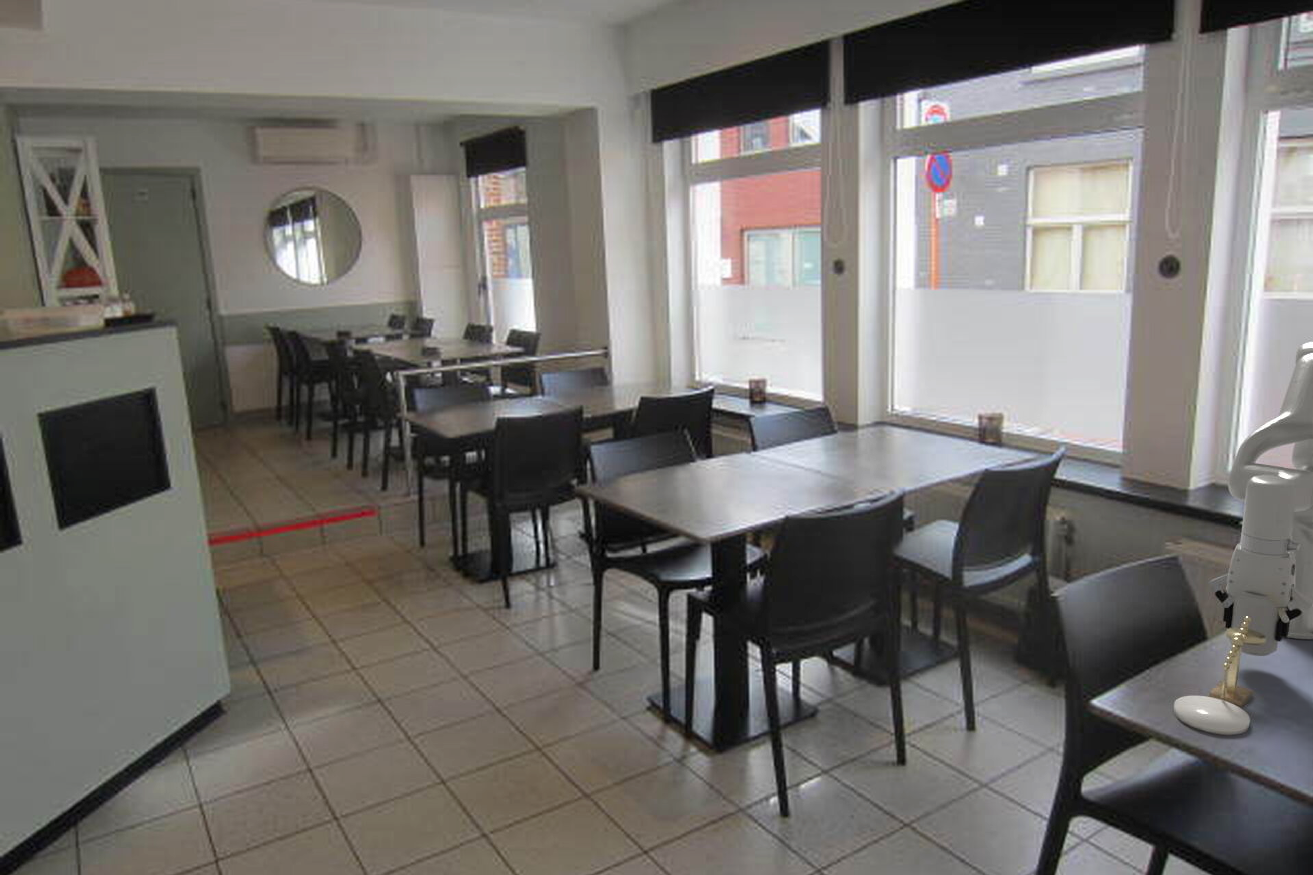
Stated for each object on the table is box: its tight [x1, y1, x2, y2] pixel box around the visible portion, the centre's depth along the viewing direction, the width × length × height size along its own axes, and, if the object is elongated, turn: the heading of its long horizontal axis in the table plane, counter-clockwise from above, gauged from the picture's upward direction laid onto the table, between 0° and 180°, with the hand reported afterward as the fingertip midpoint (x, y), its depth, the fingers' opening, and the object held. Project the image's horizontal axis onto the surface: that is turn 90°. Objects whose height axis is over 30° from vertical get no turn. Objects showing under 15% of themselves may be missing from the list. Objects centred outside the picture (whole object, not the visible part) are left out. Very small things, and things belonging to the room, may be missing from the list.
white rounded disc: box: [1173, 695, 1251, 736], centre depth 156 cm, size 11×11×1 cm
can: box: [1229, 591, 1280, 657], centre depth 172 cm, size 8×8×12 cm
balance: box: [1208, 617, 1266, 708], centre depth 162 cm, size 14×6×14 cm, turn 133°
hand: (1254, 631), depth 172 cm, fingers closed on can, 7 cm apart
